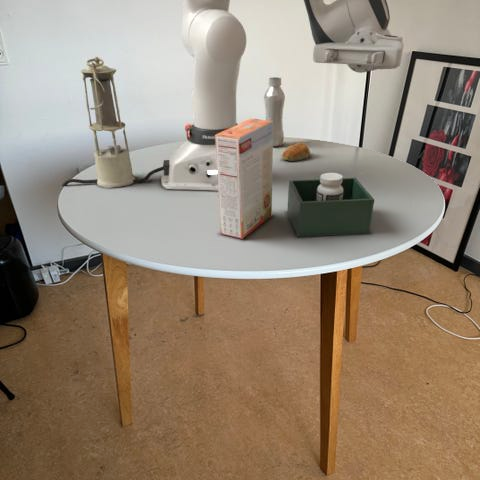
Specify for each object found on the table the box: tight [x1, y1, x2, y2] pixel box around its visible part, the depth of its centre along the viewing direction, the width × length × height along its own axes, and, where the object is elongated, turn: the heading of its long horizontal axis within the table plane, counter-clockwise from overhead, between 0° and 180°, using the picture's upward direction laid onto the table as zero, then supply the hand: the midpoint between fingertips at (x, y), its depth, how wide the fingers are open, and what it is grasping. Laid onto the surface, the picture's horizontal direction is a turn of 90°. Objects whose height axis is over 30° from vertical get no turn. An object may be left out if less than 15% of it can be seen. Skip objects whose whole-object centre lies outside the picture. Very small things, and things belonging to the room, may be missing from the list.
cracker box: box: [215, 118, 274, 240], centre depth 96 cm, size 14×6×21 cm, turn 150°
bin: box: [286, 177, 375, 238], centre depth 101 cm, size 15×13×8 cm
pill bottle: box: [316, 172, 344, 201], centre depth 100 cm, size 6×6×10 cm
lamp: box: [80, 56, 136, 189], centre depth 116 cm, size 10×13×30 cm
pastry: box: [281, 142, 311, 162], centre depth 140 cm, size 9×7×4 cm
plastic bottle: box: [263, 76, 286, 147], centre depth 146 cm, size 6×7×20 cm
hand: (348, 58), depth 101 cm, fingers open, 8 cm apart
